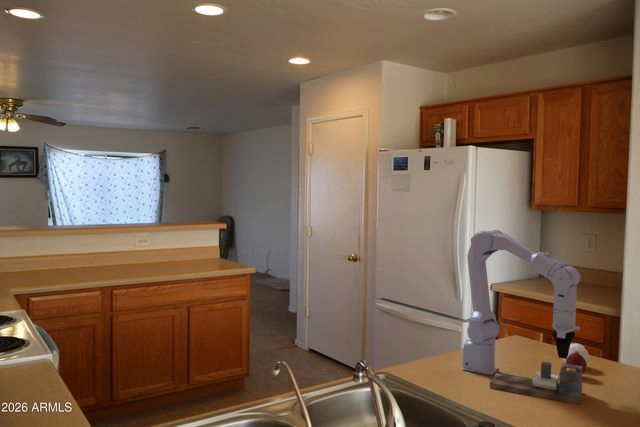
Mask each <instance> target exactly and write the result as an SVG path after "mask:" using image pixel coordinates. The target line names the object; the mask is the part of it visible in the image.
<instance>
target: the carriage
mask: <svg viewBox="0 0 640 427" xmlns="http://www.w3.org/2000/svg"><path fill="white" fill-rule="evenodd" d="M532 379H533V386H536V387H541V388H547V389H552V390H557V384H558V383H559V375H557V374H552V362H548V361H541V363H540V372H539V371H535V373H534V376H533V377H532Z"/></svg>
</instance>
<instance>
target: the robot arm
mask: <svg viewBox="0 0 640 427" xmlns="http://www.w3.org/2000/svg"><path fill="white" fill-rule="evenodd" d="M498 251H507V252H508V253H510V254H513V255H514V256H516V257H518V258H519V259H520V260H521V259H522V260H524V261H525V262H527V263H528V264H529V267H530V269H531V270H532V271H534V272H536V273H538V274H540V275H541V276H543V277H544V278H546V279H547V280H549V281H551V283H552V285H553V287H554V288H553V290H554V291H553V310H552V313H553V316H552V325H551V327H552V328H553V329H554V330H552V332H551V334H552V338H553V339H554V342H555V345H556V350H557V356H558V358H559V359H562V358H564V359H567V356H568V353H569V348H570V344H572V341H573V339H575V336H576V332H575V331H580V330H581V327H580V326H578V325H576V320H577V319H576V317H577V295H578V294H577V290H578V289H577V286H578V284H579V283H580V282H581V273H580V272H579V270H578V269H577V268H576V267H575V266H574V265H566V263H565V262H563V261H558V260H557V259H555V258H554V257H551V256H550V255H551V254H550V253H549V252H542V251H539V252H534V251H533V250H532V249H530V248H528V247H527V246H525V245H524V244H522V243H521V242H518V241H517V240H516V239H515V238H513V237H511V236H510V235H509V234H508V233H505V232H502V231H501V230H500V229H499V230H498V229H494V230H493V229H492V230H486V231H485V230H481V231H476V233H475V234H474V235H473V236H472V237H471V238H470V246H469V250H468V253H467V255H466V256H467V267H468V275H469V287H470V295H471V296H470V298H471V305H472V313H471V314H470V316H469V317H468V326H467V331H466V332H467V336H468V339H465V340H464V343H463V348H462V368H461V370H463V371H466V372H467V371H468V372H473V373H474V372H475V373H479V374H485V375H488V376H489V375H491V376H493V375H495V374H496V373H495V372H497V370H498V369H499V367H498V366H497V365H496V364H495V363H496V361H495V360H496V340H497V337H498V336H499V334H500V325H499V323H498V321H497V317H496V314H495V313H494V312H493V311H492V310H491V309H492V308H491V300H490V291H489V288H490V287H489V280H488V279H489V278H488V272H487V263H486V262H487V260H488V259H489V258H490V257H491V256H492V254H494V253H496V252H498Z"/></svg>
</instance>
